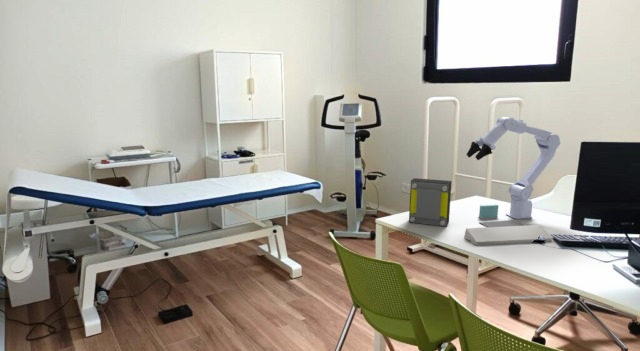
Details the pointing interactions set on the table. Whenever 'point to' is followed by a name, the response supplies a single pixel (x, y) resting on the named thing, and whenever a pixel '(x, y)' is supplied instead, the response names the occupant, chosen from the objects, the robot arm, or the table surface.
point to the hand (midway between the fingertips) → (472, 157)
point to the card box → (488, 211)
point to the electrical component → (430, 201)
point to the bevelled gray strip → (505, 234)
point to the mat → (501, 223)
